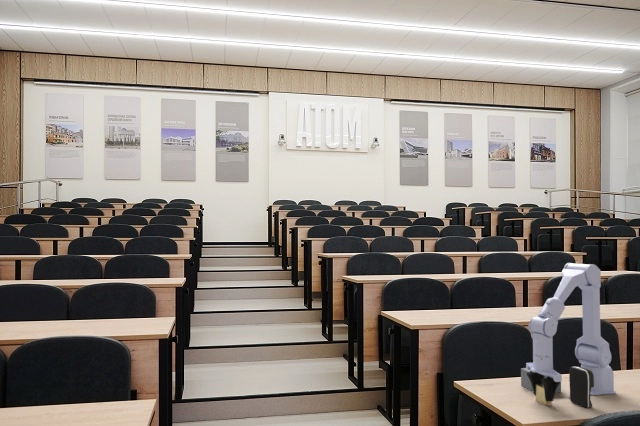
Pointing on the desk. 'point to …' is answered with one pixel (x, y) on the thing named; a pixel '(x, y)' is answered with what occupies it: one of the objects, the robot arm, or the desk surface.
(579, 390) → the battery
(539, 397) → the beige flat block
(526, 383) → the coin box
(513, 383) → the desk surface
